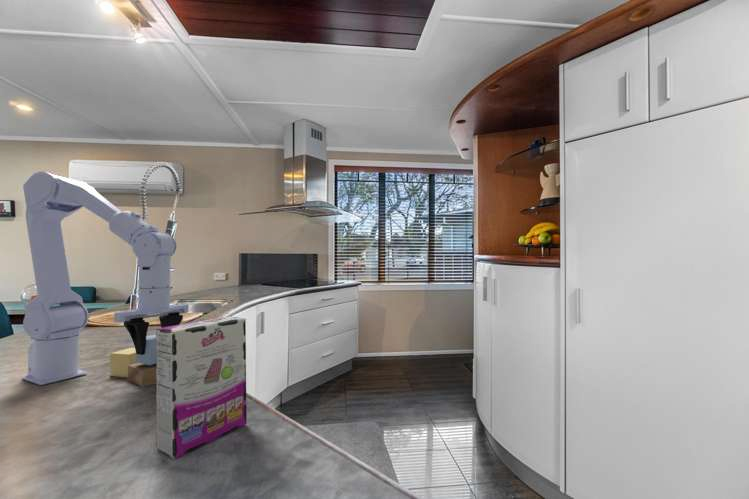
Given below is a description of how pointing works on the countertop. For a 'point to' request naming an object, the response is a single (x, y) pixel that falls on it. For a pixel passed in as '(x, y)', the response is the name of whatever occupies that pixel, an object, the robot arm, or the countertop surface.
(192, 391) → the candy bar box
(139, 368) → the walnut block
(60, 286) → the robot arm
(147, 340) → the blue cube
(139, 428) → the countertop surface
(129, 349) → the mustard cube
